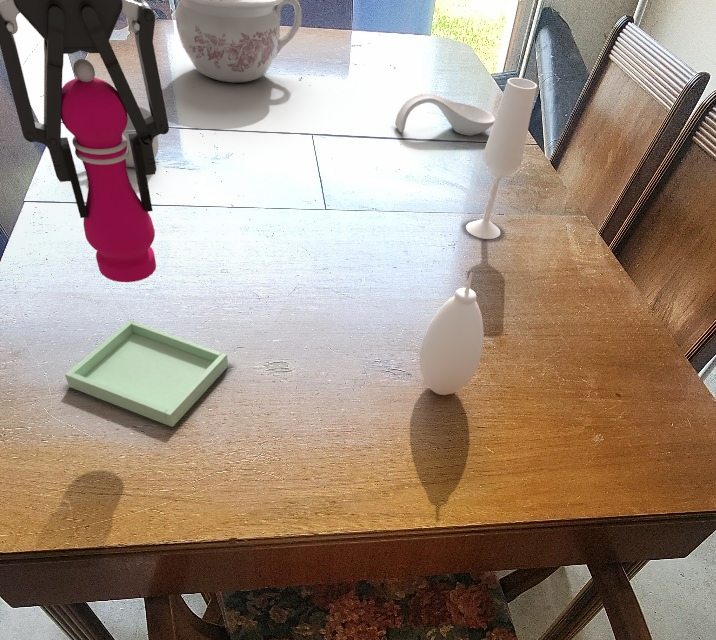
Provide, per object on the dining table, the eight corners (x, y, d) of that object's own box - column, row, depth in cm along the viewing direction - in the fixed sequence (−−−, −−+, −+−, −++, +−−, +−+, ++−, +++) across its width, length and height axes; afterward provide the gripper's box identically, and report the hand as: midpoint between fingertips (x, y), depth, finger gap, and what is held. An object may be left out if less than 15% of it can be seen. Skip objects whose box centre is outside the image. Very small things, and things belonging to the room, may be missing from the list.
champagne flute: (465, 235, 113) (501, 86, 94) (466, 218, 117) (501, 72, 98) (500, 241, 113) (544, 93, 94) (500, 224, 117) (542, 79, 98)
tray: (69, 387, 78) (64, 374, 77) (132, 331, 86) (129, 319, 85) (172, 427, 76) (170, 415, 74) (228, 366, 84) (227, 354, 82)
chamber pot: (153, 75, 147) (136, -37, 130) (212, 47, 163) (204, -56, 147) (255, 103, 142) (251, -10, 126) (306, 72, 158) (308, -32, 142)
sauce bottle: (451, 367, 88) (483, 250, 74) (478, 401, 84) (517, 285, 70) (404, 377, 86) (427, 259, 72) (429, 413, 82) (459, 295, 68)
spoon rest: (480, 120, 149) (488, 86, 143) (499, 140, 142) (508, 106, 137) (389, 120, 143) (394, 85, 138) (405, 141, 137) (410, 105, 131)
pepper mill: (99, 289, 66) (41, 75, 50) (90, 254, 70) (34, 45, 54) (166, 280, 68) (130, 72, 52) (154, 247, 72) (117, 44, 56)
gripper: (-98, -96, 41) (21, 235, 59) (182, -82, 46) (211, 216, 65) (-95, -117, 45) (16, 199, 63) (162, -102, 50) (195, 184, 69)
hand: (115, 207), depth 64 cm, fingers closed on pepper mill, 6 cm apart
